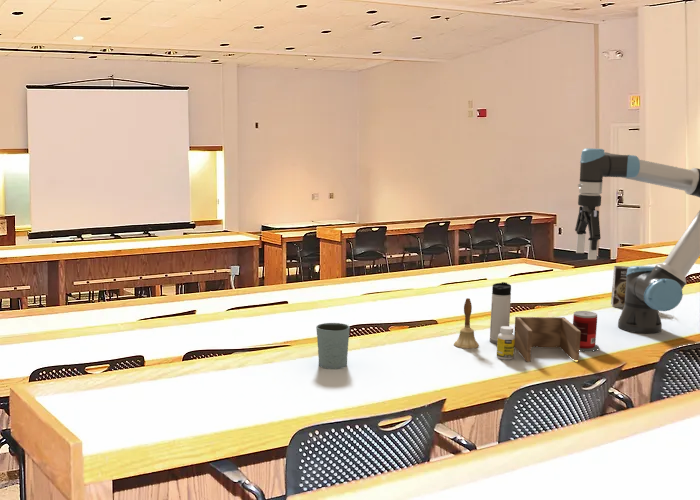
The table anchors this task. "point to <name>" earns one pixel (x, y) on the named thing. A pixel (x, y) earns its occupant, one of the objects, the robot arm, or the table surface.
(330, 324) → the grey-green cup
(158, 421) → the table surface
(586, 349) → the slate coaster
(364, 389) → the table surface
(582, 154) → the robot arm
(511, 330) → the supplement bottle
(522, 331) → the walnut u-shaped bracket
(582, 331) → the canned food
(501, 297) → the travel mug
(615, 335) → the table surface
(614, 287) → the coffee box
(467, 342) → the hand bell
